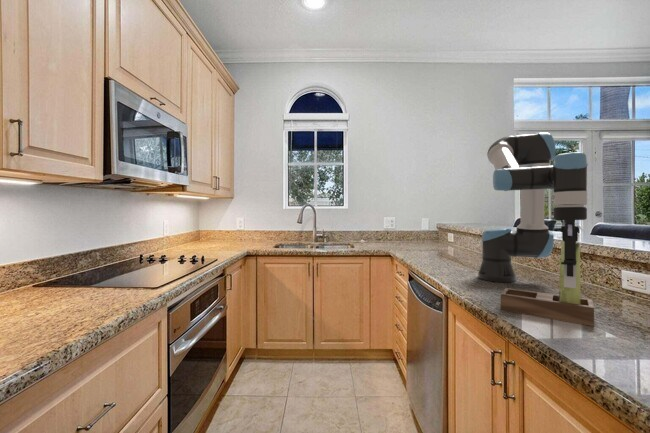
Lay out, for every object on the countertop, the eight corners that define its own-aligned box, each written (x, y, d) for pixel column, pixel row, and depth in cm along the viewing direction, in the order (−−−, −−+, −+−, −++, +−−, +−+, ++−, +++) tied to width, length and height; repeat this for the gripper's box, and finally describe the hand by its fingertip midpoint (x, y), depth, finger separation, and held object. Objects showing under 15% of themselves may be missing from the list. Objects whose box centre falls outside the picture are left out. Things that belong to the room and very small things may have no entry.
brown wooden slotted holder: (505, 302, 101) (505, 287, 101) (591, 315, 87) (591, 299, 87) (500, 309, 94) (500, 294, 94) (594, 326, 80) (594, 307, 80)
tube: (585, 308, 86) (585, 242, 85) (579, 312, 83) (579, 243, 83) (562, 304, 90) (561, 240, 90) (555, 307, 88) (555, 241, 87)
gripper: (554, 206, 96) (554, 277, 96) (552, 206, 82) (552, 289, 82) (585, 206, 91) (585, 281, 91) (588, 205, 77) (588, 294, 77)
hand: (569, 285), depth 87 cm, fingers closed on tube, 6 cm apart
